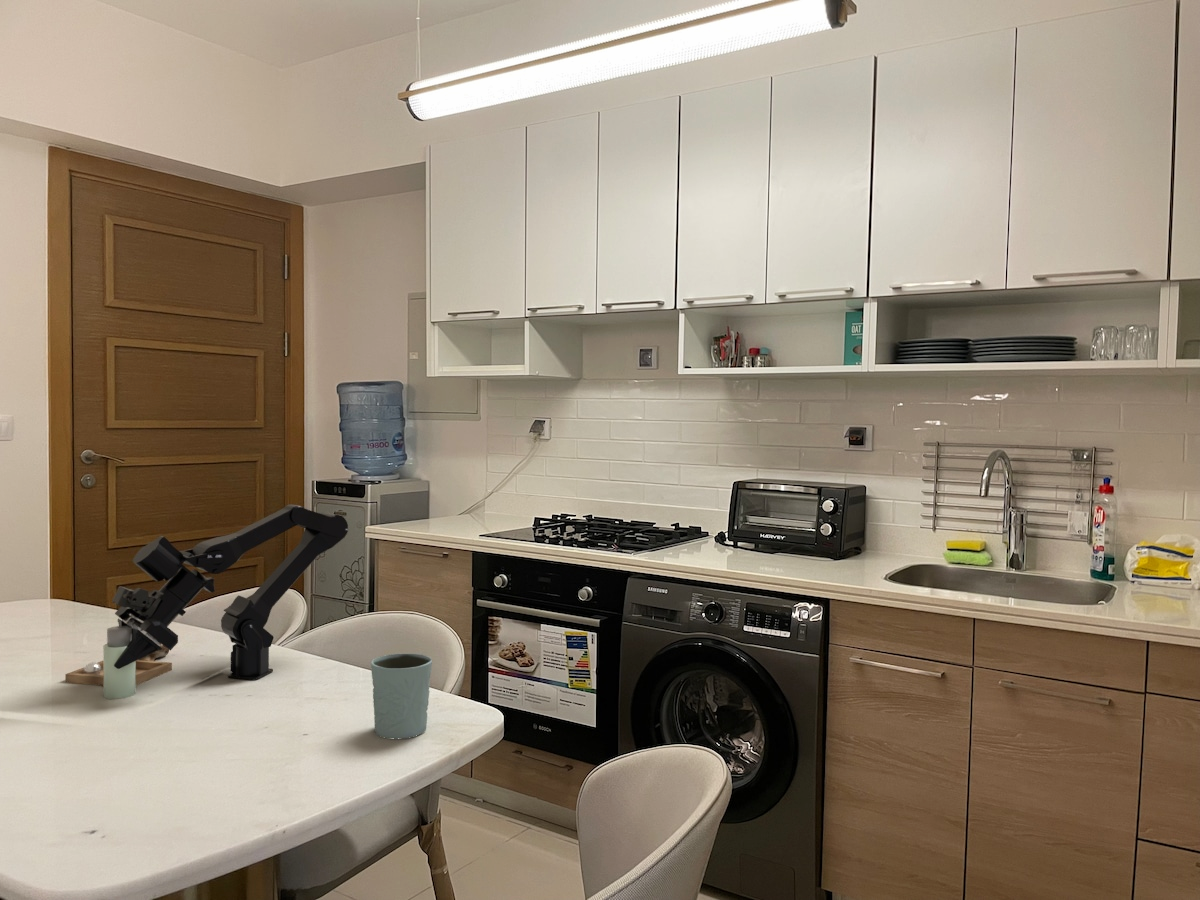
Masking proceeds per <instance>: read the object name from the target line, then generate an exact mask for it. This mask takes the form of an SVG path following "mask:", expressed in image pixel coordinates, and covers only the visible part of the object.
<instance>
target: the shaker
mask: <svg viewBox="0 0 1200 900" xmlns="http://www.w3.org/2000/svg"><path fill="white" fill-rule="evenodd" d="M131 641H132V627H131V626H119V625H117V626H111V627H108V628H107V629H106V644H103V651H102V652H103V655H102V656H103V657H102V658H103V660H102V661H103V668H104V686H103V698H105V699H106V700H108V699H109V700H119V699H126V698H129V697H132V696H135V695H136V691H137V689H136V688H137V685H136V661H134V662H132V663H130V664H128V665H126V666H124V667H122V668H120V669H117V668H116V667H114V664H115V663H116V661H117V660H118V658H119V657H120V655H121V654H122V653H123V651H124V650H125V649H126V647H127V646H128V645H129V643H130V642H131Z"/></svg>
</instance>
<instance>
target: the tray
mask: <svg viewBox="0 0 1200 900" xmlns="http://www.w3.org/2000/svg"><path fill="white" fill-rule="evenodd" d="M97 663H98V664H99V665H100V666H101V668H102V671H101V673H100V675H91V674H84V668H85V667H86V666H84V667H82V668H79V669H76V670H73V671H71V672H68V673H65V683H71V684H82V685H94V686H103V687H104V668H103V660H100V661H98V662H97ZM172 670H173V663H172V662H168V661H166V662H165V661H155V660H154V661H145V660H136V686H137V685H141V684H142V683H145V682H147V681H150V680H152V679H155V678H157V677H160V676H162V675H164V674H167V673H169V672H171V671H172Z"/></svg>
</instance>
